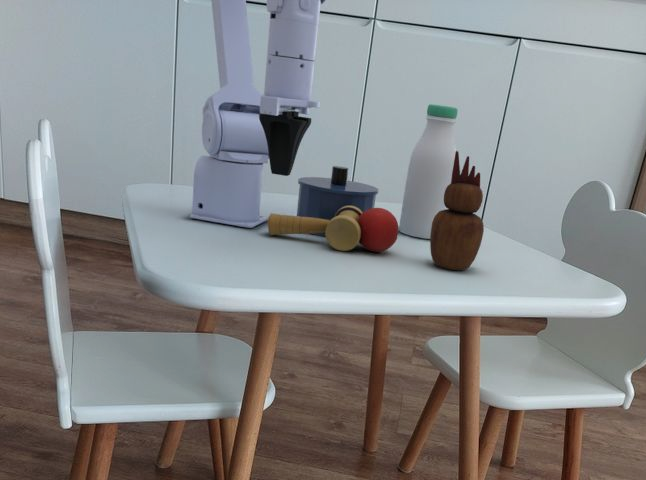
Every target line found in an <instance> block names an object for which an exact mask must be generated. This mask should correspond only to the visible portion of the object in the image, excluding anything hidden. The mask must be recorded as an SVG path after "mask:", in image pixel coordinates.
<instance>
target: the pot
mask: <svg viewBox="0 0 646 480" xmlns="http://www.w3.org/2000/svg"><path fill="white" fill-rule="evenodd" d="M376 198H377V194H376V195H368V196H362V195H347V194H338V193H331V192H325V191H320V190H315V189H311V188H307V187H304V186H302V185H300V184H299V188H298V199H297V209H296V216H300V217H312V218H319V219H325V220H331V219H332V218H334V217H335V215H336V213H337V212H338V210H339V209H341V208H342V207H344V206H355V207H357V208H358V209H360V210H361V211H362V213H363V212H365V211H366V210H369V209H371V208H375V206H376V205H375V204H376ZM312 235H315V236H320V237H325V238H326V236H325V232H323V233H312Z"/></svg>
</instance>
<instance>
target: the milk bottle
mask: <svg viewBox="0 0 646 480" xmlns="http://www.w3.org/2000/svg"><path fill="white" fill-rule="evenodd" d="M426 109H427V110H426V117H425V118H426V125H425V126H424V127H425V128H424V130H423V131H422V134H421V136H420V138H419V140H418V141H417V142H416V144H415V146H414V148H413V150H412V152H411V155H410V158H409V163H408V169H407V175H406V180H405V186H404V192H403V199H402V204H401V205H402V206H401V210H400V211H401V213H400V219H399V224H398V230H399V232H400V233H401V234H404V235H407V236H410V237H414V238H420V239H428V240H430V235H431V227H432V222H433V219H434V217H435V215H436V214H437V213H438V212H439V211H442V210H446V209H448V208H446V207H445V205H444V193H445V190H446V188H447V186H448V185H449V184H451V178H452V171H453V165H454V159H455V153H456V151H457V147H456V141H455V137H454V125H455V124H456V119H457V117H458V108H457V107H453V106H447V105H441V104H431V103H430V104H428V106H427V108H426Z"/></svg>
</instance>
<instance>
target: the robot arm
mask: <svg viewBox="0 0 646 480" xmlns="http://www.w3.org/2000/svg"><path fill="white" fill-rule="evenodd" d="M325 2H326V0H266V11H267V12H268V13H270V15H269V27H268V37H267V53H266V62H265V64H266V65H265V67H266V68H265V78H264V88H263V93H261V92H260V91H258V90H257V89H256V88H255V78H254V70H253V59H252V49H251V38H250V29H249V20H248V11H247V1H246V0H211V10H212V11H211V12H212V21H213V30H214V41H215V49H216V50H215V51H216V52H215V53H216V61H217V73H218V82H219V89H218V90H217V91H215V92H213V94H211V95H210V96H208V98H207V99H206V101H205V102H204V105H203V107H202V124H201V138H202V140H201V141H202V145H203V148H204V150H205V151H206V153H207V154H208V155H202V156H200V157H199V158H198V160H197V161H196V164H195V168H194V171H193V186H192V187H193V188H192V206H191V207H192V208H191V209H192V211H191V214H190V215H189V218H190V219H195V220H201V221H206V222H212V223H219V224H224V225H231V226H235V227H241V228H246V229H247V228H248V229H252V228H254V227H256V226H259V225H261V224H263V223H264V222H268V219H269V217H267V216H264V215H263V216H262V215H260V212H261V198H262V187H263V172H264V164H268V163H269V166H270V167H269V168H270V172H271V174H272V175H277V176H278V175H279V176H285V177H288V176H290V175H291V173H292V170H293V167H294V164H295V160H296V158H297V154H298V151H299V148H300V145H301V142H302V140H303V138H304V136H305V134H306V132H307V131H308V129H309V128H310V126H311V124H312V118H311V117H306V116H307V115H310V109H312V108H316V109H320V108H321V102H320V101H316V100H312V94H313V93H312V92H313V83H314V75H315V74H314V73H315V64H316V62H315V61H316V54H317V44H318V34H319V25H320V24H319V23H320V13H321V7H322V6H321V5H323V4H324V3H325ZM299 115H306V116H299Z"/></svg>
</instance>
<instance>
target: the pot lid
mask: <svg viewBox="0 0 646 480" xmlns="http://www.w3.org/2000/svg"><path fill="white" fill-rule="evenodd" d="M348 176H349V167H345V166H339V165H333V166H332V169H331V177H322V176H321V177H319V176H318V177H317V176H305V177H299V178H298V179H297V184H298V185H299V186H300V185H302V186H304V187H307V188H311V189H315V190H320V191H325V192H331V193H338V194H347V195H362V196H368V195H376V196H377V195H378V194H379V188H377V187H375V186H373V185H370V184H367V183H363V182H357V181H353V180H348V178H349V177H348Z"/></svg>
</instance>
